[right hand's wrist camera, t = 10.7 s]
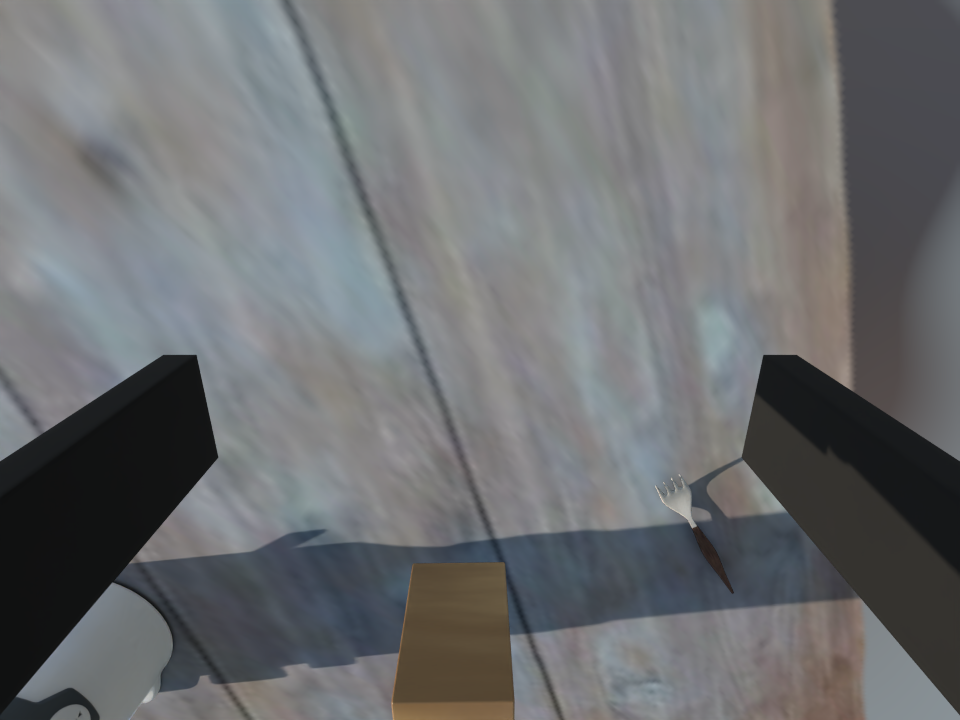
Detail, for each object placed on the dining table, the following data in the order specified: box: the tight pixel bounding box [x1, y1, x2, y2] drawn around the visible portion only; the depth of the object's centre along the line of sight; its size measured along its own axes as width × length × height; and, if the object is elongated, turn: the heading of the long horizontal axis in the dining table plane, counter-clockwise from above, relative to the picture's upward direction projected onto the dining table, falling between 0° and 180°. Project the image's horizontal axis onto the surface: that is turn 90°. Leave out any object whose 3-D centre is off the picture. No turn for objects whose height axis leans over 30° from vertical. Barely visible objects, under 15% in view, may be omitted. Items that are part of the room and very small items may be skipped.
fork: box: [655, 474, 734, 594], centre depth 47 cm, size 3×16×2 cm, turn 32°
